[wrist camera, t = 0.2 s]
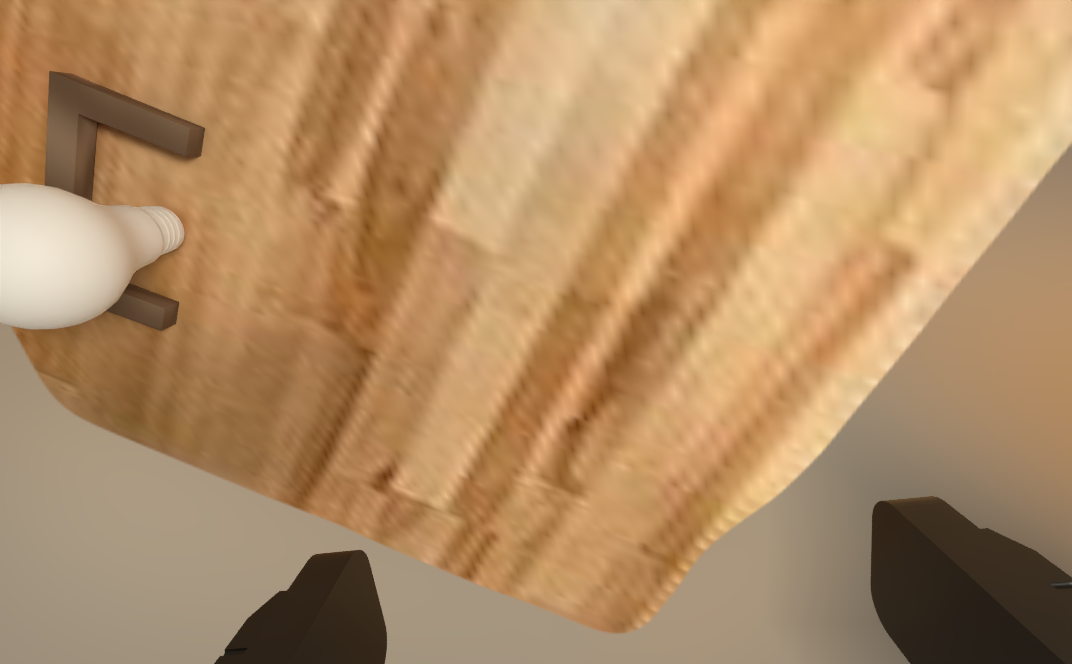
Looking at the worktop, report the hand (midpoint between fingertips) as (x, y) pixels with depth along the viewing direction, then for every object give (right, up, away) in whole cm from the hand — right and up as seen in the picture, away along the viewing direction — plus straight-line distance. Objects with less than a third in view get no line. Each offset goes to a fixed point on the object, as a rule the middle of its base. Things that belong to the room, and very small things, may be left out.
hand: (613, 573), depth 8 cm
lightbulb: (-22, +10, +21) cm, 32 cm away
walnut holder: (-24, +11, +21) cm, 34 cm away
